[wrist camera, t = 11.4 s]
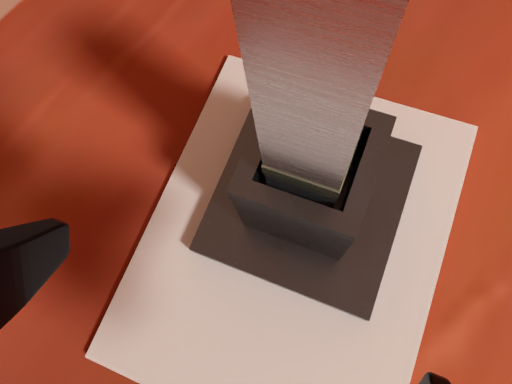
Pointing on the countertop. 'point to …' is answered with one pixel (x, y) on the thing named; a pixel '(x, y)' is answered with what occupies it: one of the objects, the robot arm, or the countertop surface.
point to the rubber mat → (267, 294)
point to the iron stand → (313, 221)
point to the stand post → (313, 84)
